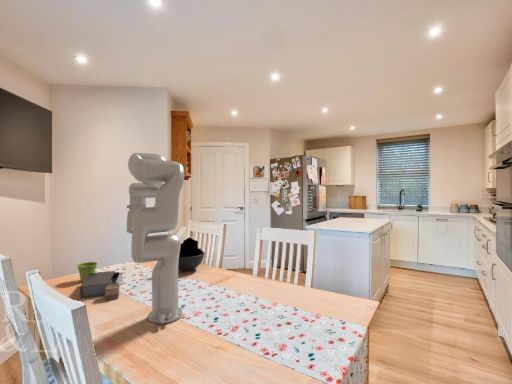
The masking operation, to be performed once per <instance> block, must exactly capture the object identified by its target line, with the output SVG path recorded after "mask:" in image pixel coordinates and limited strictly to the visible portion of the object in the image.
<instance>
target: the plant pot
mask: <svg viewBox="0 0 512 384" xmlns="http://www.w3.org/2000/svg"><path fill="white" fill-rule="evenodd" d="M97 265H99V264H98V262H96V261H87V262H83V263H82V262H81V263H79V264H77V266H76V267H77V269H78V271H79V272H78V274H79V278H80V282H82V283H83V282H84V281H85V279H86V278H87V277H88V275H89V274H90V273H96V270H97V269H96V268H97Z"/></svg>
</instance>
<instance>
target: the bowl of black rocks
mask: <svg viewBox="0 0 512 384" xmlns="http://www.w3.org/2000/svg"><path fill="white" fill-rule="evenodd" d="M180 243H181V247H180V253H179V261H178V270H180V271H185V272H186V271H188V272H189V271H193V270H195V269H196V268H198V267H199V266H200V265H201V264H202V262H203V260H204V258H205V257H204V256H205V251H203V250H202V249H201V248H200V247H199V241H198V240H197V239H194V238H192V237H187V238H186V239H184V240H183V242H180Z"/></svg>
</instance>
